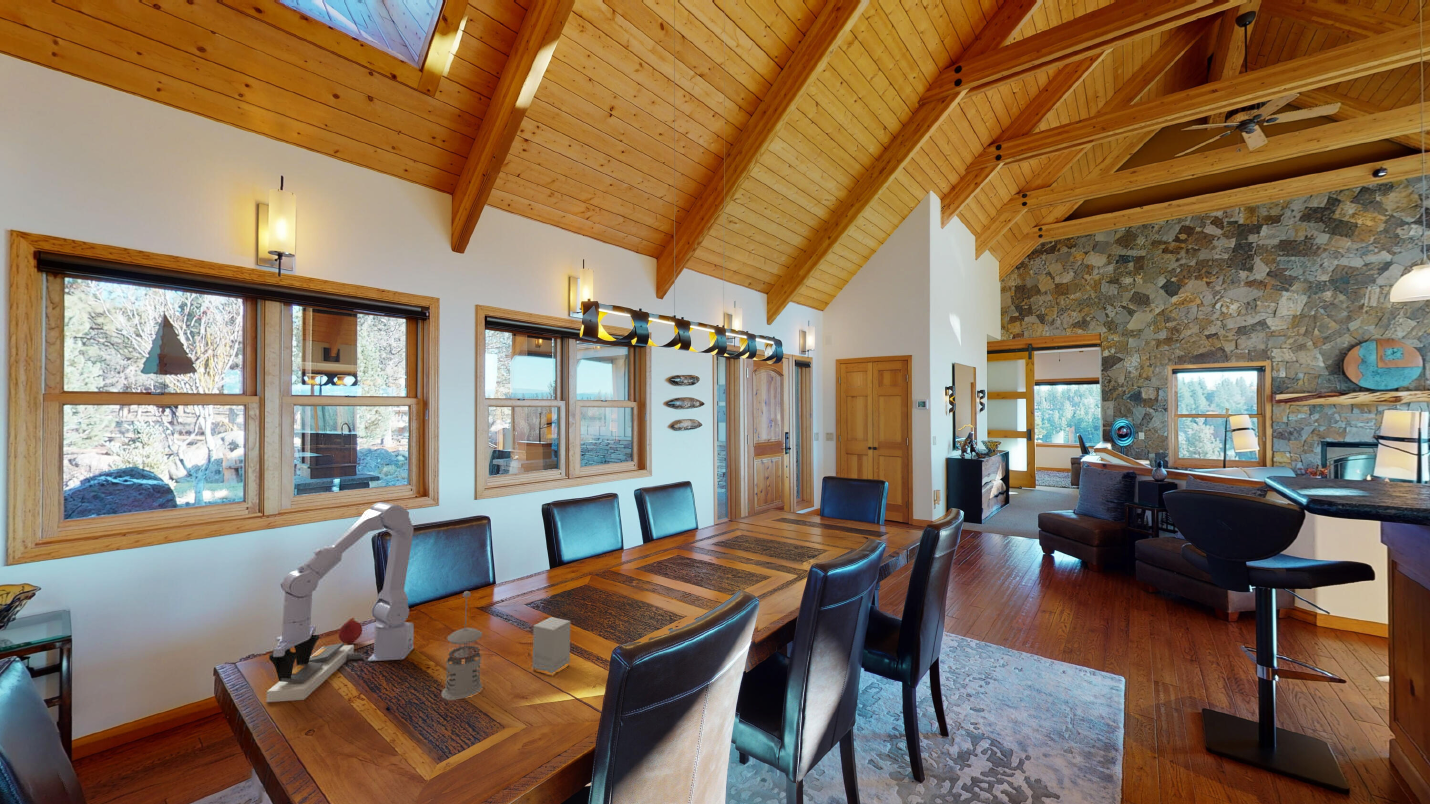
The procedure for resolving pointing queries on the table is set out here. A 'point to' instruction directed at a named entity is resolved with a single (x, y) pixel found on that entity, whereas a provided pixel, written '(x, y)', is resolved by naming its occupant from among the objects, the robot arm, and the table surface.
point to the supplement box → (551, 644)
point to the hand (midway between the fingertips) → (293, 673)
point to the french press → (465, 675)
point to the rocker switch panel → (302, 690)
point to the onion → (350, 631)
